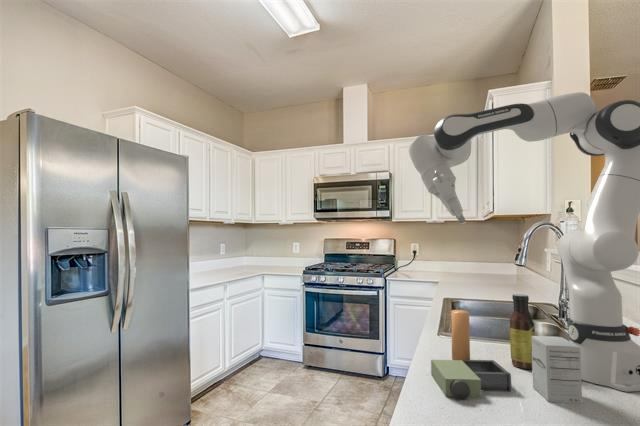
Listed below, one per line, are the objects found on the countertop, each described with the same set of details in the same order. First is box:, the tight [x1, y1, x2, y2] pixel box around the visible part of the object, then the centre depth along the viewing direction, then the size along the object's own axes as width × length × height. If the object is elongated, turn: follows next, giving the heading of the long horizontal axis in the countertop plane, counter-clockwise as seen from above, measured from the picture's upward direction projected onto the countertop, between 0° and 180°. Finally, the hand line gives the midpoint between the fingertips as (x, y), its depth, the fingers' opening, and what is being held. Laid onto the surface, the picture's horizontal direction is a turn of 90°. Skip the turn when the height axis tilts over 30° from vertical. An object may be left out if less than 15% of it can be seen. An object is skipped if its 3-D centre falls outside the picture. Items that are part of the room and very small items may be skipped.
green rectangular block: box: [430, 359, 482, 401], centre depth 84 cm, size 8×14×4 cm, turn 177°
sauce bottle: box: [509, 293, 536, 370], centre depth 98 cm, size 6×6×20 cm
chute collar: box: [462, 359, 512, 392], centre depth 87 cm, size 8×9×4 cm
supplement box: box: [531, 335, 583, 405], centre depth 80 cm, size 7×7×13 cm
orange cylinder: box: [450, 309, 471, 360], centre depth 103 cm, size 5×5×14 cm
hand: (461, 219), depth 99 cm, fingers open, 8 cm apart
